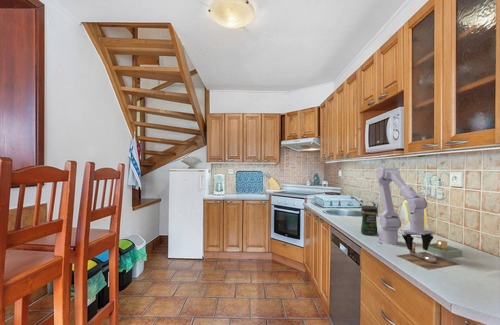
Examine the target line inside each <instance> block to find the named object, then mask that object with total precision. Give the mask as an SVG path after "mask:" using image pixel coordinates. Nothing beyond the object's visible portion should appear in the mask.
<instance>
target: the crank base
mask: <svg viewBox="0 0 500 325" xmlns="http://www.w3.org/2000/svg"><path fill="white" fill-rule="evenodd" d="M418 253H420V254H423V255H428V256H433V257H435V258H436V263H429V262H426V261H424V259H422V258H420V257H417V256H414V255H411V254H410V253H406V254H399V255H398V254H397V255H396V257H398V258H400V259H402V260H405V261H407V262H410V263H412V264H414V265H416V266H418V267H420V268H424V269H426V270H428V271H429V270H430V271H431V270H436V269H443V268H447V267H453V266H459V265H460V266H461V264H460V263H457V262H455V261H452V260H449V259H446V258H445V257H442V256H439V255H437V254H434V253H431V252H428V251H419V252H418Z"/></svg>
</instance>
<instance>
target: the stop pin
mask: <svg viewBox="0 0 500 325" xmlns="http://www.w3.org/2000/svg"><path fill="white" fill-rule="evenodd" d="M436 243H437V248H436V249H438V250H441V251H444V252H447V246H448V241H446V240H443V239H442V240H441V239H439V240H438V239H437V241H436Z"/></svg>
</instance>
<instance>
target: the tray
mask: <svg viewBox="0 0 500 325" xmlns="http://www.w3.org/2000/svg"><path fill="white" fill-rule="evenodd" d="M422 250H423V251H424V252H427V253H430V254H435V255H436V256H438V257H441V258H444V259H446V258H452V257H463V249H461V248H457V247H455V246H454V247H453V246H451V245H447V252H444V251H441V250H438V249H437V242H436V243H435V242H433V243H430V244H429V247H428V250H424V249H423V248H422Z"/></svg>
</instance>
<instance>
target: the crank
mask: <svg viewBox="0 0 500 325" xmlns="http://www.w3.org/2000/svg"><path fill="white" fill-rule="evenodd" d="M408 252H409V254H411V255H414V256H417V257H420V258H422V259H424V261H426V262H429V263H436V258H435V257H433V256H428V255H423V254H420V253H419V252H417V251H416V242H414V241H413V242H412V251H410V250H408Z"/></svg>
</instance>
